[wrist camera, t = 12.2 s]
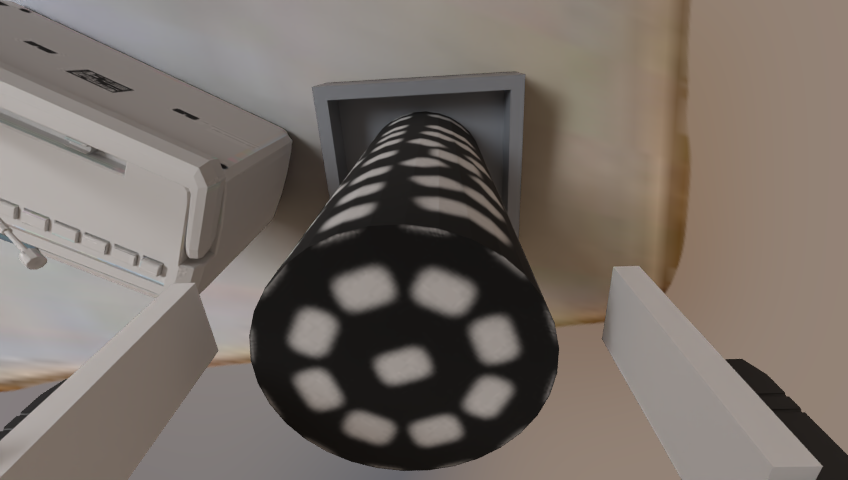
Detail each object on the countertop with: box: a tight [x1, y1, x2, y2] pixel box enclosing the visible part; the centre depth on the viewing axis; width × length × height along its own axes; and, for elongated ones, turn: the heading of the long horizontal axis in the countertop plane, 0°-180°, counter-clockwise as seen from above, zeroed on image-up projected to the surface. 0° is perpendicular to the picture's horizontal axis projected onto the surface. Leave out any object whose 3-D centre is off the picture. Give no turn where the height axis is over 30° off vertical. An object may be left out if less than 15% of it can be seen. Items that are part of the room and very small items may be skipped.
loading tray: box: [312, 72, 525, 240], centre depth 29 cm, size 13×13×4 cm
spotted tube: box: [249, 111, 559, 471], centre depth 20 cm, size 8×8×20 cm
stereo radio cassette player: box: [0, 0, 293, 298], centre depth 20 cm, size 21×8×20 cm, turn 64°
